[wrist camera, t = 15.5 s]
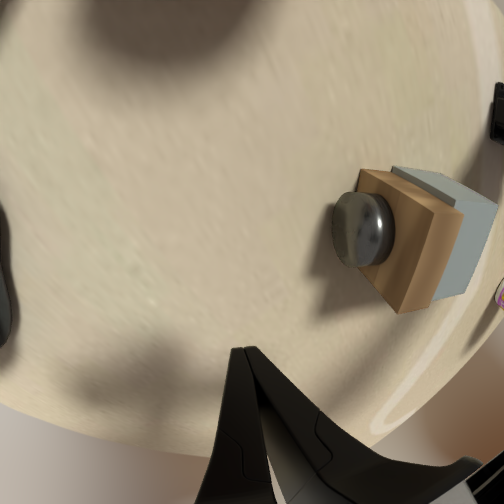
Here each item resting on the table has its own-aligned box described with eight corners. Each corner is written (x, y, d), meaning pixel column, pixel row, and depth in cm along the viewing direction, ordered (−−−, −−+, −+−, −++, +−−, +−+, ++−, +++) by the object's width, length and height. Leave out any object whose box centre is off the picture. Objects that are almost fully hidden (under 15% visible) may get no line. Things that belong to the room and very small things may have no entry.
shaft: (453, 192, 23) (491, 215, 19) (438, 239, 26) (472, 266, 22) (339, 181, 20) (378, 209, 16) (326, 244, 23) (358, 282, 19)
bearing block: (440, 173, 23) (498, 205, 17) (418, 251, 27) (464, 293, 21) (393, 165, 21) (456, 199, 15) (371, 254, 25) (417, 304, 19)
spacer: (391, 172, 21) (464, 214, 15) (372, 249, 25) (428, 307, 18) (361, 168, 21) (434, 213, 14) (343, 251, 24) (397, 314, 18)
